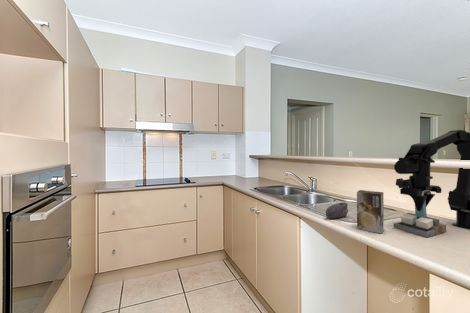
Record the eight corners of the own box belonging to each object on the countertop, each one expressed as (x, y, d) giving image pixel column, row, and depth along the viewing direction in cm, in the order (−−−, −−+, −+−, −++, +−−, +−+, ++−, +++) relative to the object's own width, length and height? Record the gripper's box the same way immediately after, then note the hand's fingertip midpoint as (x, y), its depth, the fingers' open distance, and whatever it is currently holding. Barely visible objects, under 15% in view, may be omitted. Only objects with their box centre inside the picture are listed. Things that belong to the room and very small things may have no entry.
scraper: (408, 216, 98) (407, 195, 97) (439, 224, 88) (438, 200, 87) (404, 218, 97) (403, 196, 96) (435, 226, 87) (434, 201, 86)
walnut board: (412, 223, 100) (412, 216, 100) (446, 232, 89) (446, 224, 89) (402, 225, 97) (402, 219, 96) (435, 235, 86) (435, 227, 86)
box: (401, 225, 96) (401, 221, 96) (435, 235, 85) (435, 230, 85) (393, 227, 94) (393, 223, 94) (426, 237, 83) (426, 232, 83)
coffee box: (384, 229, 92) (384, 192, 91) (381, 234, 87) (381, 194, 87) (359, 225, 98) (360, 189, 98) (356, 228, 93) (356, 191, 93)
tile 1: (406, 218, 96) (406, 213, 96) (417, 221, 92) (416, 216, 92) (401, 222, 94) (400, 216, 94) (412, 224, 91) (411, 219, 90)
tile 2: (421, 222, 91) (420, 217, 91) (433, 225, 87) (432, 219, 87) (416, 226, 89) (415, 220, 89) (428, 229, 86) (427, 223, 85)
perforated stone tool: (330, 221, 104) (330, 206, 104) (321, 218, 109) (321, 204, 108) (351, 217, 110) (351, 203, 110) (342, 214, 115) (342, 201, 115)
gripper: (412, 171, 102) (411, 204, 103) (387, 172, 95) (386, 208, 95) (442, 173, 92) (441, 209, 93) (416, 175, 85) (416, 215, 85)
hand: (420, 210), depth 92 cm, fingers closed on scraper, 2 cm apart
